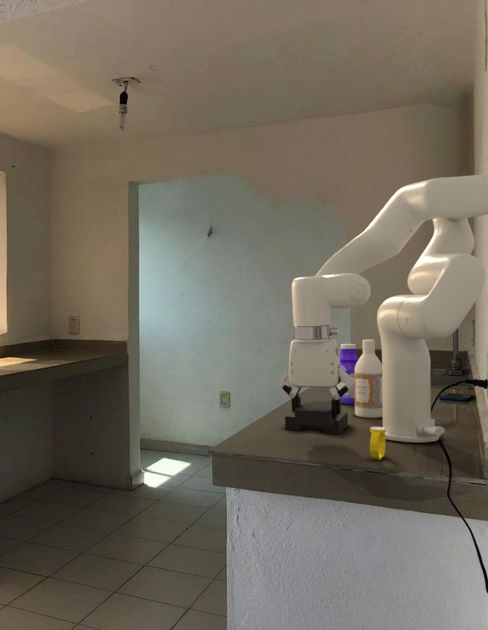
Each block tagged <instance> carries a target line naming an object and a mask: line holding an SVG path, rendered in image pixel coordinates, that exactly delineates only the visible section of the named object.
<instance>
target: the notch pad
mask: <svg viewBox="0 0 488 630" xmlns="http://www.w3.org/2000/svg"><path fill="white" fill-rule="evenodd" d="M348 416H349V415H348V411H341V414H338V419H337V420H336V421H335V422H334V423H333V424H332V425H331V426H330V427H325V426H307V425H295V414H294V412H292V411H291V412H290V413H288V414H287V415H285V416H284V429H285V430H286V431H294V432H295V431H298V432H300V431H301V430H302V429H303V430H313V431H314V430H315V431H323V434H330V435H340V434H341V432H343V431H344V430H345V429H346V428H347V427H348V426H349V419H348V418H349V417H348Z"/></svg>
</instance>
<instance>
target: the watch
mask: <svg viewBox="0 0 488 630" xmlns="http://www.w3.org/2000/svg"><path fill="white" fill-rule="evenodd" d="M369 432H370V433H371V434H370V441H369V449H370V450H369V452H370V457H371V458H372V459H373V460H376V461H381V460H382V459H383V457H385V454H386V445H387V444H386V443H387V442H386V441H387V439H386V438H385V432H386V429H385V428H383V426H370V427H369Z"/></svg>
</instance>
